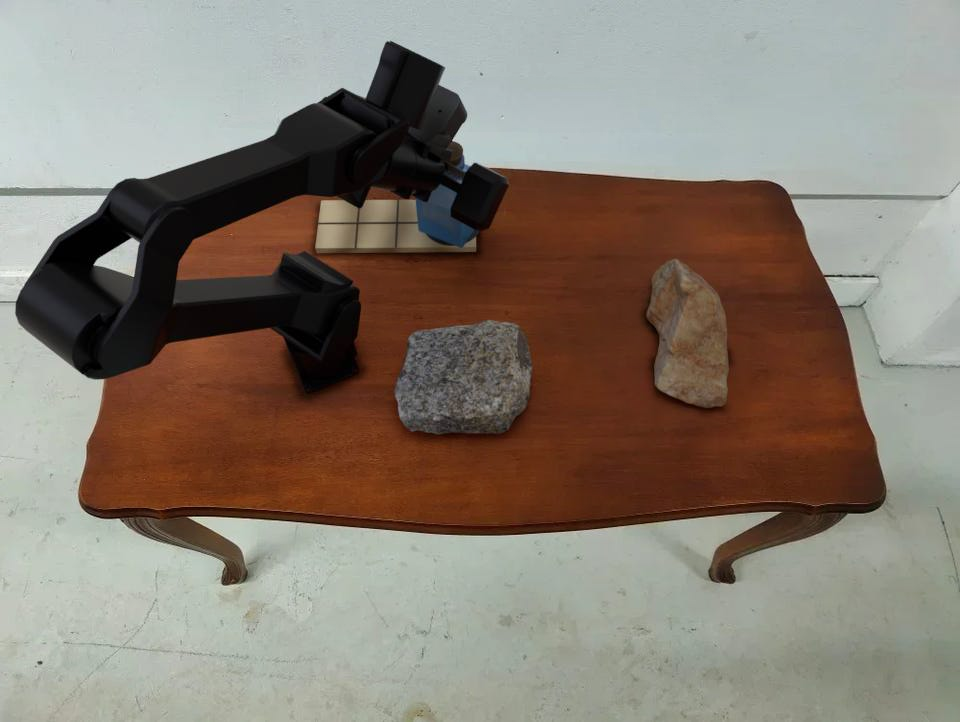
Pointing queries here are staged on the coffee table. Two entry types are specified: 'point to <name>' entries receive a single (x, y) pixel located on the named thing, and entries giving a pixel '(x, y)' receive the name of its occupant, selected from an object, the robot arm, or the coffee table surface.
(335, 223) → the board
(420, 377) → the rock
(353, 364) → the robot arm
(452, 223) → the perfume bottle
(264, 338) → the coffee table surface
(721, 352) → the stone
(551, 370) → the coffee table surface
